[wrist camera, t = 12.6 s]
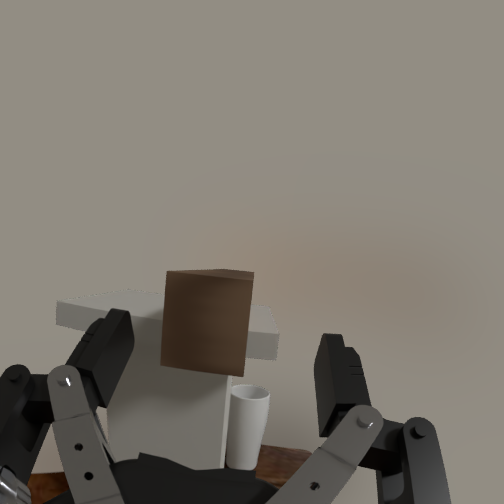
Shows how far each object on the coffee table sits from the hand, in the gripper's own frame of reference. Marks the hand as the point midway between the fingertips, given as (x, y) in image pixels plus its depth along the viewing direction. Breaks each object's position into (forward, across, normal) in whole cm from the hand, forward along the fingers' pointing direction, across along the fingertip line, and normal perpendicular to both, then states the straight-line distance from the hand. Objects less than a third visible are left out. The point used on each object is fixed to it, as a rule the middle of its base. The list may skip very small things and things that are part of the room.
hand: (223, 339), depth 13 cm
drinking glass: (+15, +2, -46) cm, 48 cm away
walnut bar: (+10, -1, -8) cm, 12 cm away
